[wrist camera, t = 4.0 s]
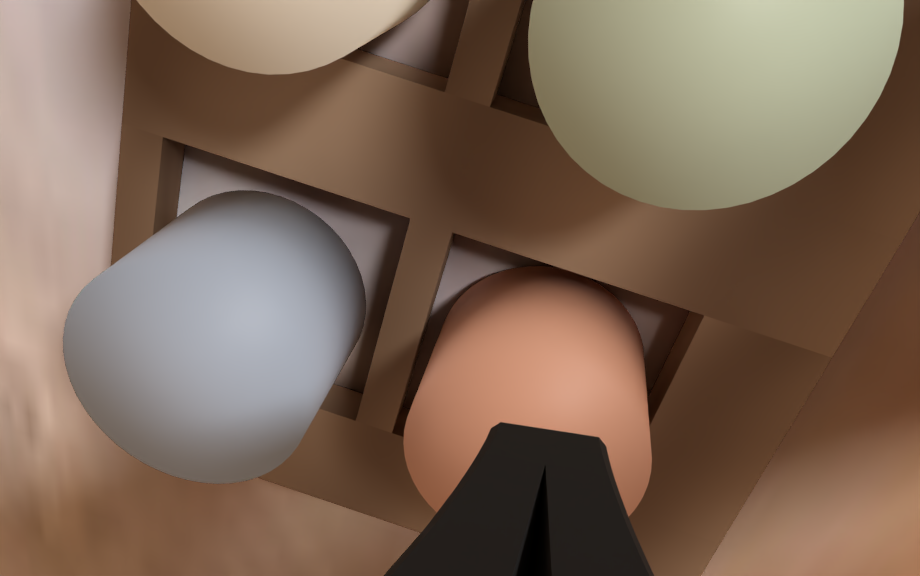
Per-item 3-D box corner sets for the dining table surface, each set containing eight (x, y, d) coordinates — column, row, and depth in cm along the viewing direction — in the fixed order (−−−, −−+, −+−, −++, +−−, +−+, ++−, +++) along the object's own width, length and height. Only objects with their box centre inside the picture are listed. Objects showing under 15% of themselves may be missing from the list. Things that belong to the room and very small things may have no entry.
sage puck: (887, -98, 14) (983, -96, 10) (754, 175, 16) (796, 252, 13) (601, -188, 14) (598, -218, 10) (512, 96, 16) (486, 151, 13)
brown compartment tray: (1201, -324, 13) (1254, -344, 12) (671, 585, 23) (674, 619, 22) (216, -624, 13) (182, -670, 12) (121, 400, 24) (98, 423, 22)
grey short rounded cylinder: (387, 231, 18) (334, 312, 15) (341, 408, 21) (286, 515, 17) (173, 160, 18) (67, 223, 15) (152, 344, 21) (58, 437, 17)
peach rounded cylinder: (677, 306, 19) (693, 399, 15) (600, 467, 21) (599, 581, 18) (470, 238, 19) (438, 315, 16) (417, 406, 21) (379, 506, 18)
